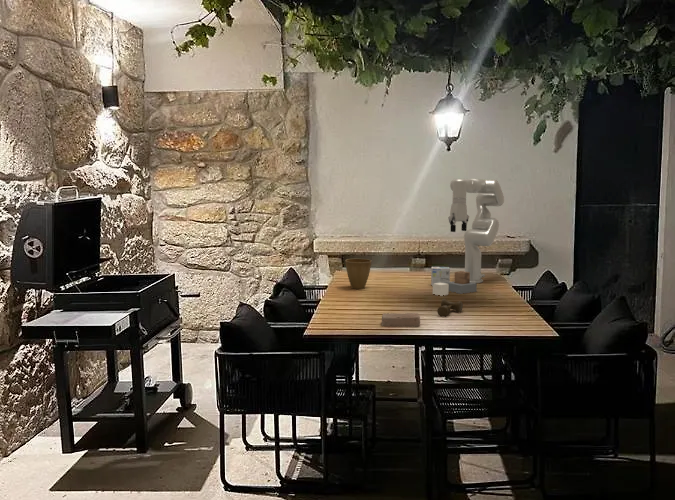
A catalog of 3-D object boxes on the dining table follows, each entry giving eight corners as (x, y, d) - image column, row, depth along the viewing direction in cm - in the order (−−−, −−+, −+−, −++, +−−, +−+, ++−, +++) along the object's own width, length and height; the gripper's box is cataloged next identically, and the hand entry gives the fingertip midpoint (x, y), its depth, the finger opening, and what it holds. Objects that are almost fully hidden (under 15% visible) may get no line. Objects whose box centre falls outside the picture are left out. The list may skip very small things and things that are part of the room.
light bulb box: (449, 284, 379) (449, 266, 378) (449, 286, 372) (450, 268, 371) (430, 284, 380) (431, 266, 379) (431, 286, 373) (431, 268, 372)
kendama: (432, 316, 299) (446, 307, 316) (451, 319, 295) (465, 310, 312) (432, 304, 298) (446, 295, 316) (452, 307, 294) (466, 298, 311)
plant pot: (341, 289, 364) (341, 261, 362) (350, 284, 377) (350, 257, 375) (366, 291, 358) (366, 262, 356) (374, 286, 372) (375, 259, 370)
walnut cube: (460, 281, 363) (460, 271, 362) (469, 282, 359) (469, 272, 358) (454, 282, 359) (454, 272, 358) (463, 284, 355) (463, 273, 354)
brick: (381, 326, 278) (382, 316, 278) (381, 322, 287) (381, 312, 286) (420, 327, 278) (420, 317, 277) (418, 323, 286) (419, 312, 285)
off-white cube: (439, 293, 353) (440, 282, 352) (448, 294, 349) (448, 283, 348) (432, 294, 349) (432, 283, 349) (441, 296, 345) (441, 285, 344)
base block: (461, 289, 367) (461, 280, 367) (476, 292, 357) (476, 283, 357) (445, 291, 361) (445, 282, 360) (460, 294, 351) (460, 285, 350)
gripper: (463, 200, 373) (462, 230, 375) (444, 201, 362) (443, 231, 364) (474, 201, 367) (473, 230, 369) (454, 202, 356) (453, 232, 358)
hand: (458, 231), depth 367 cm, fingers open, 9 cm apart
